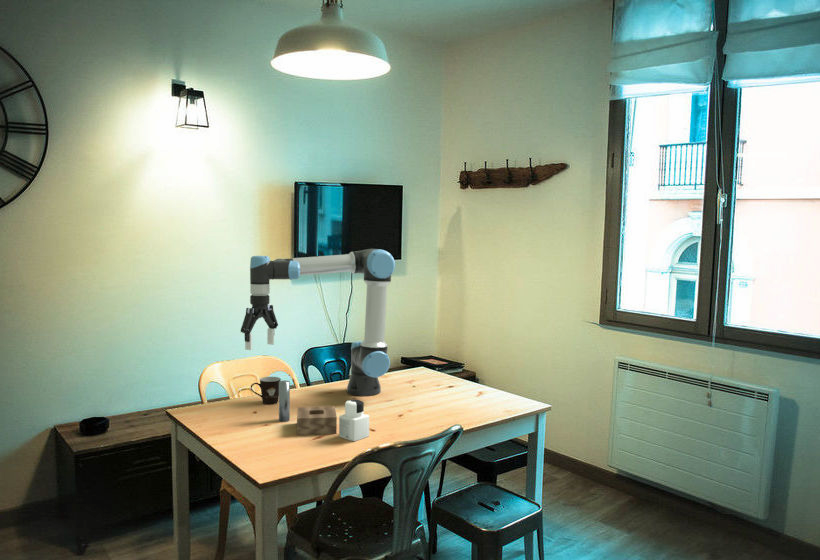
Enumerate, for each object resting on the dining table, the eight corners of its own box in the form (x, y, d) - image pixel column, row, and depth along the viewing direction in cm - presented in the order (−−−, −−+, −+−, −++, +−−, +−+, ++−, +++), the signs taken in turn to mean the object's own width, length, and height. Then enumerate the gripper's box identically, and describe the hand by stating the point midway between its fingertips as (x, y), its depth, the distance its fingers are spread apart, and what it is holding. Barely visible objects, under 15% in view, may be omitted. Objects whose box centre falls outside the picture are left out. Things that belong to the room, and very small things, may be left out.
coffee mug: (283, 400, 272) (283, 377, 271) (277, 405, 263) (277, 381, 262) (256, 398, 273) (256, 375, 272) (249, 404, 264) (249, 380, 263)
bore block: (334, 421, 243) (334, 406, 242) (336, 433, 229) (336, 417, 228) (297, 423, 240) (297, 407, 240) (296, 435, 227) (297, 418, 226)
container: (353, 431, 231) (354, 396, 230) (369, 436, 227) (369, 400, 226) (338, 437, 226) (338, 401, 224) (354, 441, 221) (354, 405, 220)
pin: (289, 418, 246) (289, 380, 245) (289, 421, 242) (289, 382, 241) (279, 418, 245) (279, 380, 244) (278, 422, 241) (278, 383, 240)
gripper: (272, 291, 268) (272, 341, 269) (231, 296, 245) (231, 351, 247) (286, 292, 264) (286, 343, 266) (246, 297, 242) (246, 353, 244)
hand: (259, 347), depth 257 cm, fingers open, 13 cm apart
